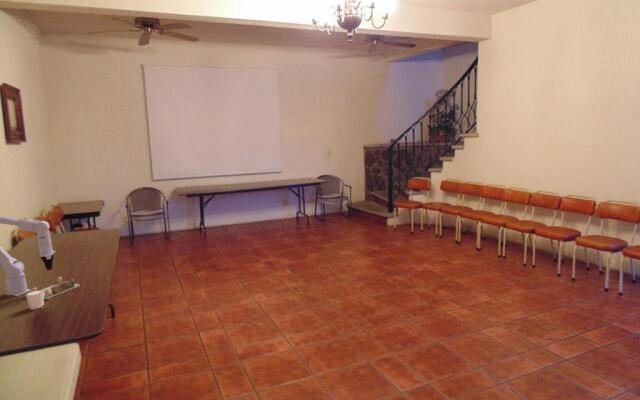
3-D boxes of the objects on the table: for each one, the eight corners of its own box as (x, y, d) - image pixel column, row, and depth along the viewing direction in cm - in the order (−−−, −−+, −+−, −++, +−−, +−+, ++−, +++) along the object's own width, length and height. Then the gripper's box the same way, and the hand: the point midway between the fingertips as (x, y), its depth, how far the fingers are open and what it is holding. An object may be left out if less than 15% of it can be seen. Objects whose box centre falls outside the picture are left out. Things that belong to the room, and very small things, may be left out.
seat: (28, 297, 221) (26, 289, 220) (60, 284, 238) (59, 276, 237) (48, 299, 216) (46, 291, 215) (80, 286, 232) (79, 278, 232)
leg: (71, 284, 231) (71, 278, 231) (76, 284, 230) (75, 279, 230) (51, 293, 220) (50, 286, 219) (55, 293, 219) (54, 287, 219)
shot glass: (42, 302, 212) (39, 289, 211) (47, 305, 208) (45, 291, 207) (26, 308, 207) (23, 293, 206) (31, 311, 203) (28, 296, 201)
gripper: (56, 245, 226) (60, 270, 228) (51, 240, 237) (55, 264, 239) (40, 248, 221) (44, 274, 224) (36, 243, 233) (40, 268, 235)
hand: (49, 269), depth 231 cm, fingers closed
